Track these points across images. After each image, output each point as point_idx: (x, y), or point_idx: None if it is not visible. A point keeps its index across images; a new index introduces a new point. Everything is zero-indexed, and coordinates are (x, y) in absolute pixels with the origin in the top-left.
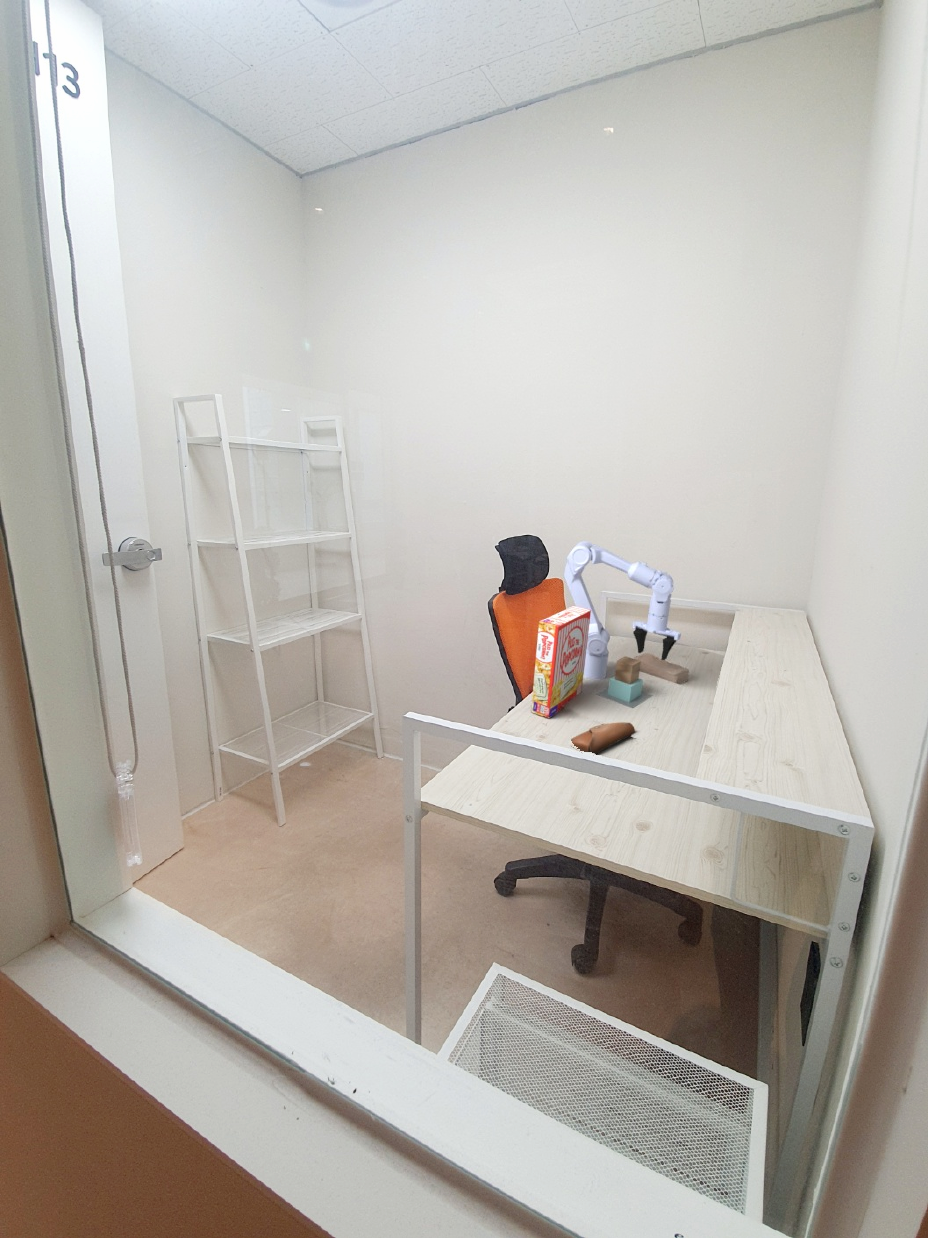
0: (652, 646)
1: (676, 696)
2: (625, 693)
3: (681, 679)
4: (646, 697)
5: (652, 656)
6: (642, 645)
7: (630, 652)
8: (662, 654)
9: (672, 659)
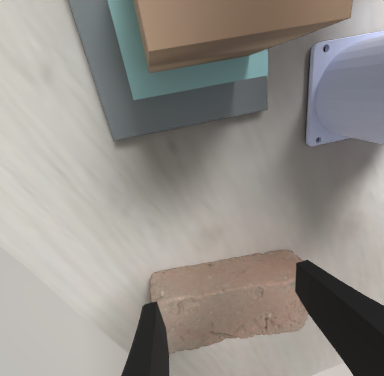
0: (316, 360)
1: (91, 225)
2: None
3: None
4: (110, 101)
5: (279, 325)
6: (329, 320)
7: None
8: (149, 339)
9: (252, 356)
